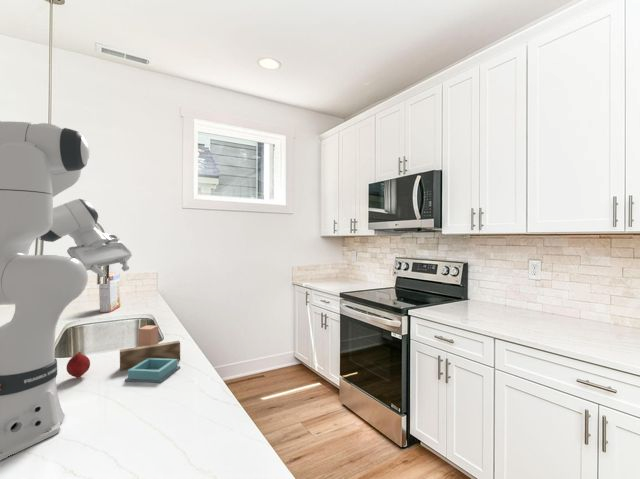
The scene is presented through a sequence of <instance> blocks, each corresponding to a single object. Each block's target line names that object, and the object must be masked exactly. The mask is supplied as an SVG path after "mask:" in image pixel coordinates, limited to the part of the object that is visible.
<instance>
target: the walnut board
mask: <svg viewBox="0 0 640 479" xmlns="http://www.w3.org/2000/svg"><path fill="white" fill-rule="evenodd" d="M147 358H163V359H177V361H180V360H181V341H180V340H175V341H168V342H163V343H162V342H160V343H158V344H154V345H148V346H141V347H139V346H135V347H129V348H123V349H119V372H120V371H127V370H129V369H131V368H132V367H134V366H136V365H137V364H139V363H141V362H142V361H144V360H146V359H147Z"/></svg>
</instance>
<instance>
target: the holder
mask: <svg viewBox="0 0 640 479" xmlns="http://www.w3.org/2000/svg"><path fill="white" fill-rule="evenodd" d="M179 369H181V365H178V360H177V359H163V358H147V359H146V360H144V361H142V362H141V363H139V364H137V365H136V366H134V367H132V368H131V369H127V377H126V378H125V379H124V382H126V383H127V382H129V383H133V382H134V383H148V384H149V383H153V384H162V383H163V382H164V381H165V380H167V379H168V378H169V377H171V375H173V374H174V373H175V372H177V371H178V370H179Z"/></svg>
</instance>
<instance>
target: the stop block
mask: <svg viewBox="0 0 640 479" xmlns="http://www.w3.org/2000/svg"><path fill="white" fill-rule="evenodd" d="M154 344H159V325H150V324H149V325H144V326H142V327H140V328H138V347H141V346H148V345H154Z"/></svg>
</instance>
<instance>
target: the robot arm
mask: <svg viewBox="0 0 640 479" xmlns="http://www.w3.org/2000/svg"><path fill="white" fill-rule="evenodd" d="M89 159H90V147H89V144H88V143H87V140H86V137H85V136H84V135H83V134H82V133H80V132H79V131H77V130H75V129H71V128H67V127H63V128H61V127H59V126H57V125H56V124H52V123H45V122H44V123H43V122H42V123H41V122H40V123H33V122H28V121H26V122H24V121H1V120H0V306H2V305H3V306H4V305H8V306H9V305H10V306H11V305H14V313H13V315H12V318H11V319H10V321H9V322H6V323H5V324H3V325H0V461H3V460H4V459H6V458H9V457H11V456H13V455H15V454H17V453H19V452H21V451H23V450H25V449H27V448H29V447H31V446H33V445H36V444H38V443H39V442H42V441H44V440H46V439H48V438H50V437H52V436H55V435H57V434H59V433H60V432H61V423H62V422H63V421H64V419H65V414H64V411H63V409H62V407H61V406H62V405H61V402H60V399H59V394H58V388H57V380H56V379H57V376H58V359H57V358H56V357H55V354H56V352H55V348H56V346H55V345H56V344H55V343H56V330H57V327H58V326H57V325H58V322H59V320H60V317H61V316H62V313H63V312H64V311H65V309H66V308H67V307H68V306H69V304H70V303H72V302H73V301H75V300H76V299H77V298H79V297H80V296H81V295H82V294H83V292H84V291H85V289H86V287H87V285H88V279H89V278H88V275H89V274H88V270H91V272H93V273H95V274H98V277H99V276H100V277H103V276H106V274H107V271H106V270H105V269H101V267H105V266H110V265H114V264H120V265H122V267H121V270H122V271H123V272H127V271H129V269H130V266H129V265H128V261H129V260H130V259H131V257H132V256H133V254H132V251H131V250H130V249H129V248H128V246H127V245H126V244H125V243H124V242H123V241H121V238H120V237H119V236H118V234H117V235H116V234H110V233H106V232H102V231H101V229H98V228H97V227H96V224H97V223H98V219H99V214H98V212H97V210H96V209H95V208H94V206H93V205H92V204H91V203H90V201H88V200H85V199H82V198H77V199H73V200H70V201H68V202H65V203H63V204H60V205H58V206H55V207H54V204H53V202H54V200H53V198H54V197H56V196H57V195H59V194H60V193H62V192H64V191H66V190H67V189H69V188H71V187H73V186H74V185H75V184H76V183H77V182H79V181H78V180H79V179H80V177H81V172H82V170H83V169H84V168H85V167H86V166H87V164H88V160H89ZM67 235H68V236H69V237H70V238H71V239H73V240H74V244H75V245H76V246H70V247H68V249H67V250H66V253H67V254H68V255H69V256H70V257H69V256H62V255H58V254H56V255H55V254H29V251H30V248H31V247H32V245H33V243H34V242H35V240H36V239H39V240H40V241H44V242H49V243H50V242H51V243H54V242H56V241H58V240H60V239H62V238H63V237H65V236H67ZM12 454H13V455H12ZM10 455H11V456H10ZM8 456H9V457H8Z"/></svg>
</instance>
